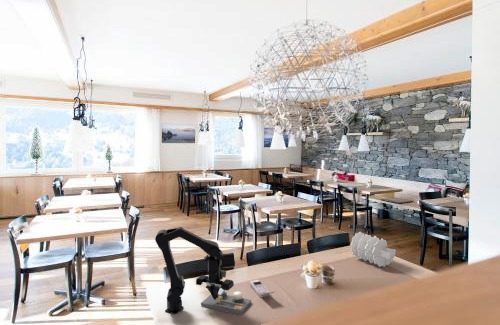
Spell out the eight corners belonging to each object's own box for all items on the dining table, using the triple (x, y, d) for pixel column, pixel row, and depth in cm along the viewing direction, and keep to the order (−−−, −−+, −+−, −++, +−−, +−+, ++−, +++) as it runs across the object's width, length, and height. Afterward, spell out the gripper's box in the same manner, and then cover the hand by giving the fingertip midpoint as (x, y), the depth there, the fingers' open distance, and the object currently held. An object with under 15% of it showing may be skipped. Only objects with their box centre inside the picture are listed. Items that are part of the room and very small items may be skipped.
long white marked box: (265, 293, 151) (247, 274, 174) (265, 305, 151) (247, 284, 175) (276, 291, 153) (257, 272, 176) (276, 303, 153) (257, 282, 177)
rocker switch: (215, 295, 156) (215, 293, 155) (220, 288, 160) (220, 287, 160) (220, 296, 154) (220, 294, 154) (225, 289, 159) (225, 288, 159)
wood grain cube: (216, 304, 150) (216, 298, 150) (219, 301, 152) (219, 295, 152) (220, 304, 149) (219, 298, 149) (222, 302, 151) (222, 296, 151)
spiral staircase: (382, 275, 190) (351, 261, 212) (399, 259, 197) (368, 246, 219) (374, 252, 185) (344, 239, 207) (392, 236, 191) (361, 225, 213)
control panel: (201, 305, 152) (200, 300, 152) (213, 294, 163) (213, 289, 162) (240, 315, 142) (240, 308, 142) (251, 302, 153) (251, 297, 153)
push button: (231, 298, 152) (231, 294, 152) (235, 294, 156) (235, 290, 156) (239, 300, 150) (239, 296, 150) (243, 296, 154) (243, 292, 154)
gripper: (238, 264, 154) (239, 295, 155) (206, 260, 162) (207, 289, 163) (227, 273, 144) (228, 305, 145) (194, 268, 152) (195, 298, 153)
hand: (215, 299), depth 152 cm, fingers closed
